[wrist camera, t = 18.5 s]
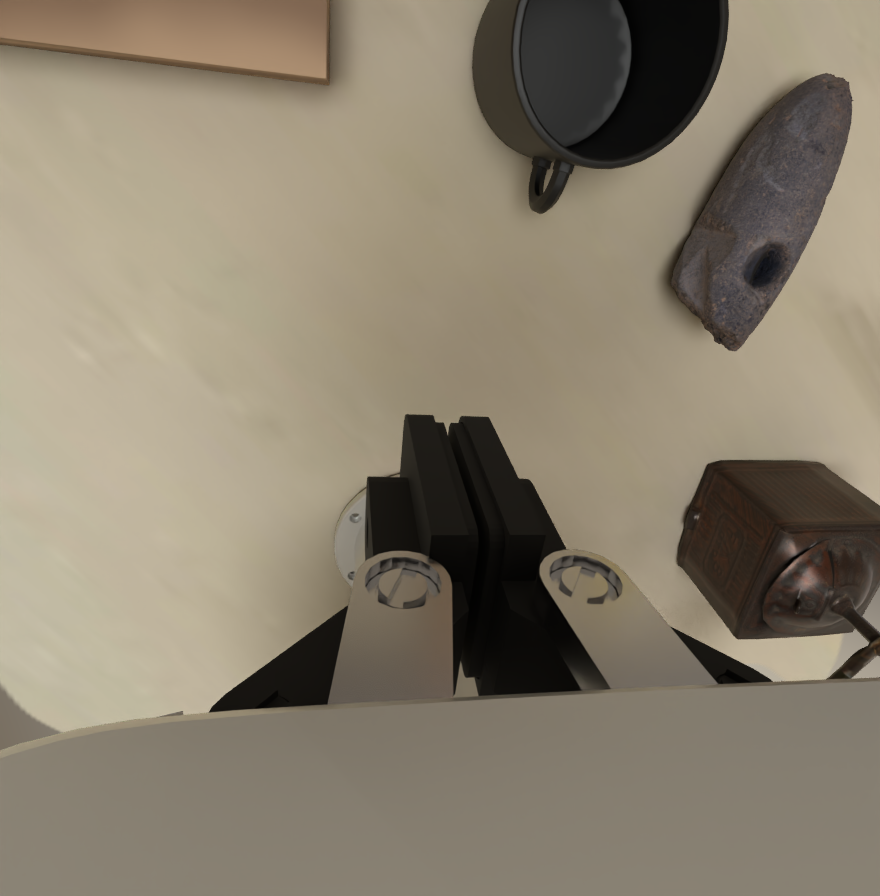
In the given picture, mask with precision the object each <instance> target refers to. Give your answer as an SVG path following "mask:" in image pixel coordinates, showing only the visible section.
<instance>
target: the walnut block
mask: <svg viewBox="0 0 880 896" xmlns="http://www.w3.org/2000/svg"><path fill="white" fill-rule="evenodd" d="M0 44H2V45H10V46H18V47H26V48H34V49H42V50H50V51H58V52H66V53H74V54H82V55H90V56H98V57H106V58H114V59H122V60H130V61H138V62H146V63H155V64H163V65H171V66H179V67H187V68H195V69H203V70H211V71H219V72H227V73H235V74H243V75H251V76H259V77H267V78H275V79H283V80H291V81H299V82H307V83H315V84H323V85H329V49H330V0H0Z"/></svg>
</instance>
